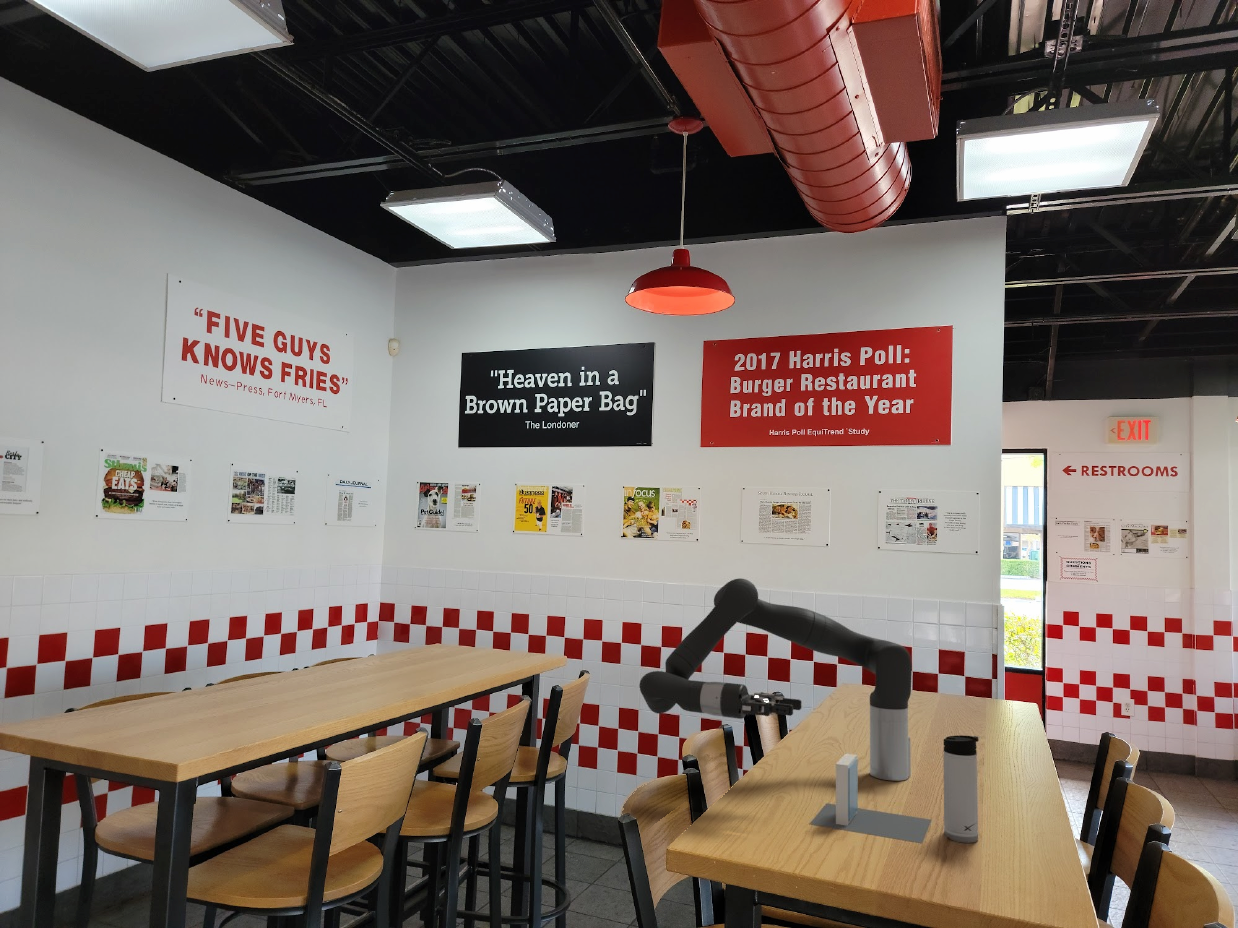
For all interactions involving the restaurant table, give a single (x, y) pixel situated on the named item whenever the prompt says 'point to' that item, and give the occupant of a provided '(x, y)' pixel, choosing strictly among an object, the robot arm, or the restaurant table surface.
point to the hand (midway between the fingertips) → (796, 707)
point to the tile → (846, 789)
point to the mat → (876, 824)
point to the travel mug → (960, 788)
